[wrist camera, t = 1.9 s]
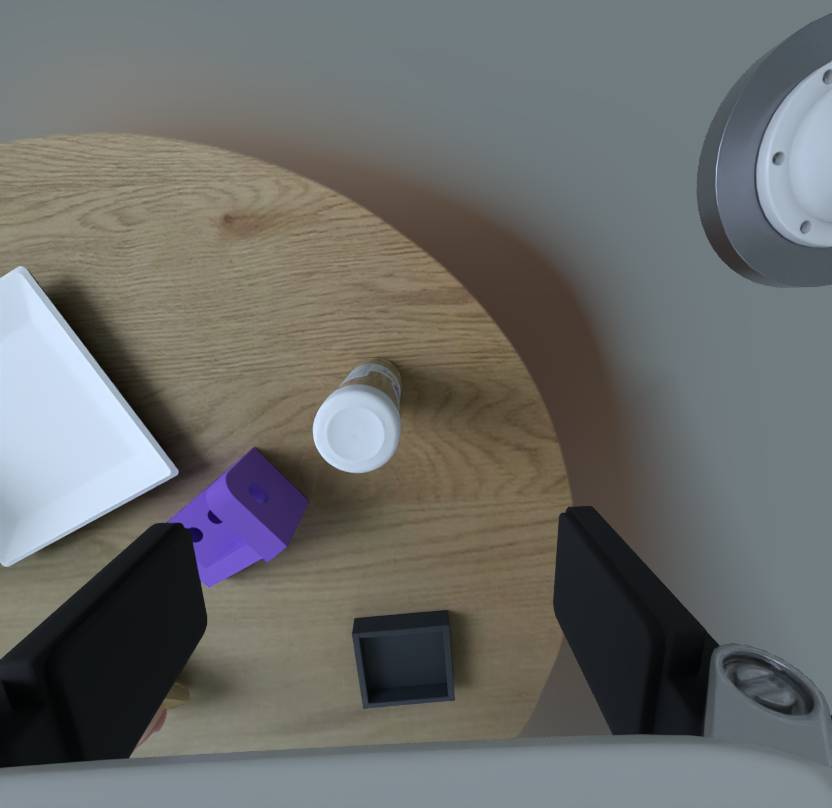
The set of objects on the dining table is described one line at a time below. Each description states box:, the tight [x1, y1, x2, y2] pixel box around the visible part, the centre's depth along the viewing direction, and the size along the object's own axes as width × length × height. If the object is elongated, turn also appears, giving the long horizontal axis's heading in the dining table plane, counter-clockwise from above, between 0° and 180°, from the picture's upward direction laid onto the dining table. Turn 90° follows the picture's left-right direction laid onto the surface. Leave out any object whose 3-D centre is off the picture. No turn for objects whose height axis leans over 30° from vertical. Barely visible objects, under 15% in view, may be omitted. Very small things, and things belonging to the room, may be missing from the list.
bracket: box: [167, 448, 309, 587], centre depth 33 cm, size 12×7×7 cm, turn 130°
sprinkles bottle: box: [313, 358, 402, 473], centre depth 27 cm, size 5×5×14 cm
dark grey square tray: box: [352, 610, 455, 709], centre depth 39 cm, size 9×9×2 cm
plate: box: [0, 266, 179, 567], centre depth 32 cm, size 19×19×2 cm
